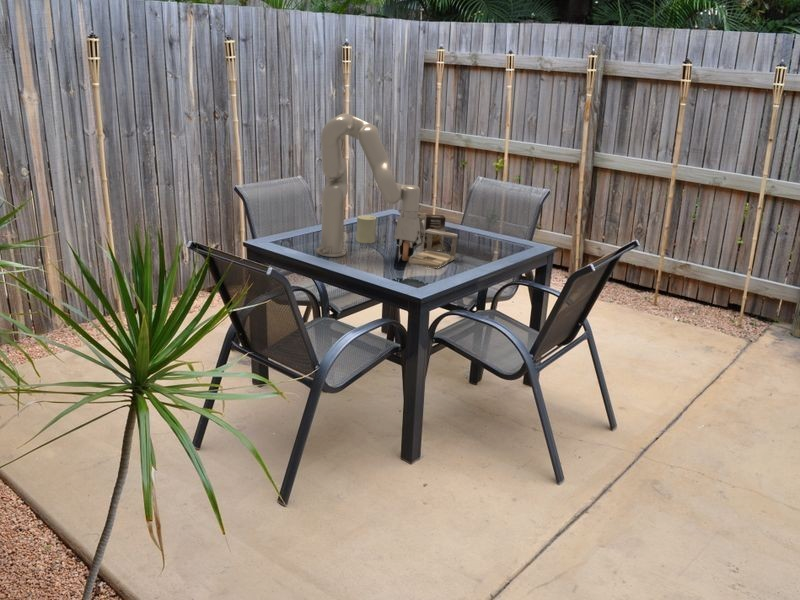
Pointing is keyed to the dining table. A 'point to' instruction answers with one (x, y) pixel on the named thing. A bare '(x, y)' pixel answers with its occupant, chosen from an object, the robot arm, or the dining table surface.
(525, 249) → the dining table surface
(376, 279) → the dining table surface
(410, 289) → the dining table surface
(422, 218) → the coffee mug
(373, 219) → the can
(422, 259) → the socket block
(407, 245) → the peg
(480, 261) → the dining table surface
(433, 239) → the coffee box
